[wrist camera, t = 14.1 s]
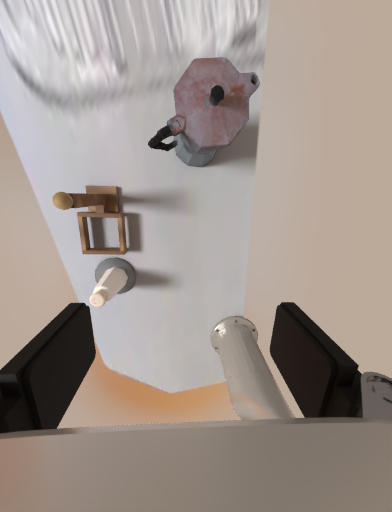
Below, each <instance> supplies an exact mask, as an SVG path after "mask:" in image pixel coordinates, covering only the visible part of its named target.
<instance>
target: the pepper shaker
mask: <svg viewBox="0 0 392 512" xmlns="http://www.w3.org/2000/svg"><path fill="white" fill-rule="evenodd" d="M127 279H128V276H127V275H126V273H125V271H124V270H123V269H120V268H118V267H113V268H110V269H108V270H106V272H105V273H104V275H103V276H102V278H101V279H100V281H99V282H98V284H97V285H96V287H95V289H94V292H93V294H92V295H91V296H90V303H91V304H92V305H93V306H95V307H101V306H103V305H104V304H105V302H106V301H109V300H111V299H112V298H113V297H114V296H115V295H116V294H117V293H118V292H119V291H120V290H121V289H122V288H123V287H124V286H125V284H126V281H127Z"/></svg>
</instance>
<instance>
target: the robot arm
mask: <svg viewBox="0 0 392 512" xmlns="http://www.w3.org/2000/svg"><path fill="white" fill-rule="evenodd" d="M257 339H258V333H257V330H256V328H255V326H254V324H253V323H252V322H251V321H249V320H248V319H245V318H242V317H230V318H227V319H224V320H222V321H221V322H220V323H218V324H217V325H216V326H215V328H214V329H213V331H212V334H211V342H212V346H213V348H214V350H215V351H216V352H217V353H218V354H220V356H221V361H222V365H223V369H224V374H225V378H226V382H227V387H228V391H229V395H230V399H231V403H232V405H233V408H234V410H235V411H236V413H237V414H238V416H239V417H240V418H241V419H242V420H233V421H208V422H186V423H185V422H184V423H161V424H139V425H118V426H99V427H78V428H62V429H57V427H58V425H59V423H60V421H61V420H62V418H63V415H64V414H65V412H66V410H67V408H68V407H69V405H70V403H71V401H72V399H73V397H74V396H75V394H76V392H77V390H78V388H79V386H80V385H81V383H82V381H83V379H84V377H85V375H86V374H87V372H88V370H89V368H90V366H91V364H92V362H93V361H94V358H95V354H96V350H95V343H94V336H93V329H92V322H91V315H90V308H89V306H86V304H85V303H70V304H69V305H68V306H67V307H66V308H65V309H64V310H63V311H62V312H61V313H59V315H57V316H56V317H55V318H54V319H53V320H52V321H51V322H50V323H49V324H48V325H47V326H46V327H45V328H44V329H43V330H42V331H41V332H40V333H39V334H37V335H36V336H35V337H34V338H33V339H32V340H31V341H30V342H29V343H28V344H27V345H26V346H25V347H24V348H23V349H22V350H21V351H20V352H19V353H18V354H16V355H15V357H13V358H12V359H11V360H10V361H9V362H8V363H7V364H6V365H5V366H4V367H3V368H2V369H1V370H0V512H392V378H389V377H387V376H385V375H382V374H379V373H375V372H365V373H363V374H361V373H360V372H359V371H358V370H357V369H358V364H357V363H355V362H354V360H352V359H351V358H350V357H349V356H348V355H347V354H346V353H345V352H344V351H343V350H342V349H341V348H340V347H339V346H338V345H337V344H336V343H335V342H334V341H333V340H332V339H331V338H330V337H329V336H328V335H327V334H325V332H324V331H323V330H322V329H321V328H320V327H319V326H318V325H316V324H315V323H314V322H313V321H312V320H311V319H310V318H309V317H308V316H307V315H306V314H305V313H304V312H303V311H302V310H301V309H300V308H299V307H298V306H297V305H296V304H295V303H293V302H282V303H281V304H280V305H278V306H277V309H276V316H275V321H274V327H273V333H272V339H271V345H270V354H271V356H272V358H273V360H274V362H275V364H276V366H277V368H278V369H279V371H280V373H281V375H282V376H283V379H284V380H285V382H286V384H287V386H288V388H289V390H290V391H291V393H292V395H293V397H294V399H295V401H296V402H297V404H298V406H299V408H300V410H301V412H302V413H303V415H304V417H305V418H295V416H294V414H293V413H292V411H291V409H290V408H289V406H288V404H287V402H286V401H285V399H284V397H283V395H282V393H281V391H280V389H279V387H278V385H277V383H276V381H275V379H274V377H273V375H272V373H271V371H270V369H269V367H268V365H267V363H266V361H265V359H264V357H263V355H262V353H261V351H260V349H259V347H258V345H257Z"/></svg>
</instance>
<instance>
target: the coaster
mask: <svg viewBox="0 0 392 512" xmlns="http://www.w3.org/2000/svg"><path fill="white" fill-rule="evenodd" d="M113 267H118V268H120V269H123V270H124V271H125V273H126V275H127V276H128V279H127V281H126V284H125V286H124V287H123V288H122V289H121V290H120V291H119V292H118V293H117V294H121V293H124V292H126V291H128V290H129V289H130V288H131V287H132V285H133V283H134V281H135V273H134V270H133V268H132V267H131V266H130V264H129V263H127V262H126V261H124V260H122V259H119V258H108V259H105V260H104V261H102V262H101V263H100V264H99V265H98V266H97V268H96V271H95V279H96V282H97V283H98V282H99V281H100V279H101V278H102V276H103V275H104V273H105V272H106V270H108V269H110V268H113Z"/></svg>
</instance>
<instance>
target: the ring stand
mask: <svg viewBox="0 0 392 512" xmlns="http://www.w3.org/2000/svg"><path fill="white" fill-rule="evenodd" d="M86 193H87V194H74V193H65V192H58V193H56V194H55V195H54V196H53V203H54V205H55V206H56V207H57V208H59V209H62V210H67V209H69V208H80V207H88V209H89V211H96V212H78V213H77V216H78V223H79V230H80V237H81V245H82V252H83V254H116V255H124V254H125V253H126V252H127V247H126V233H125V219H124V213H107V212H106V211H109V212H119V203H118V190H117V187H108V186H86ZM87 217H109V218H118V230H119V242H120V249H119V248H90V240H89V232H88V224H87Z"/></svg>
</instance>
